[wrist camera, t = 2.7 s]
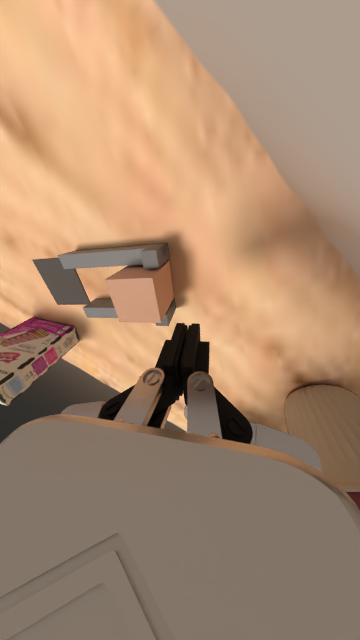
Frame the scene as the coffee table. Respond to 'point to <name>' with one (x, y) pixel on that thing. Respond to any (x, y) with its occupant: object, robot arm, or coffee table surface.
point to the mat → (61, 282)
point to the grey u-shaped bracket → (118, 257)
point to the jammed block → (141, 293)
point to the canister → (329, 431)
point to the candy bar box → (31, 353)
